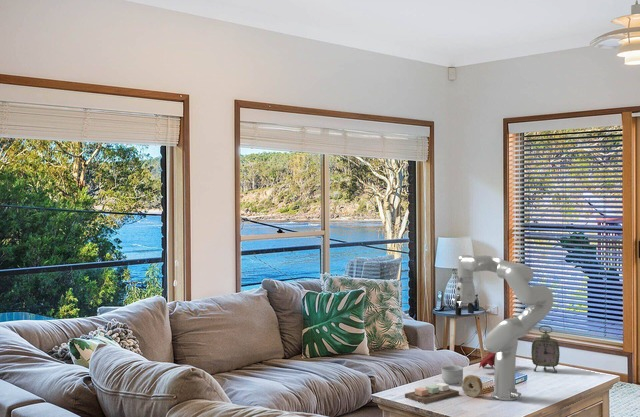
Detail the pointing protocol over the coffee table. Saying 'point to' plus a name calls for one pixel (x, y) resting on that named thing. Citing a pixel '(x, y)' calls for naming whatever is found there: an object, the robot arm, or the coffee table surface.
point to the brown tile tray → (432, 396)
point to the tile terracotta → (421, 391)
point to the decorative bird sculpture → (488, 360)
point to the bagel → (469, 388)
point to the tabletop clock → (545, 351)
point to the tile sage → (432, 389)
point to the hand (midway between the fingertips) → (464, 314)
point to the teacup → (452, 374)
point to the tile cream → (443, 386)
